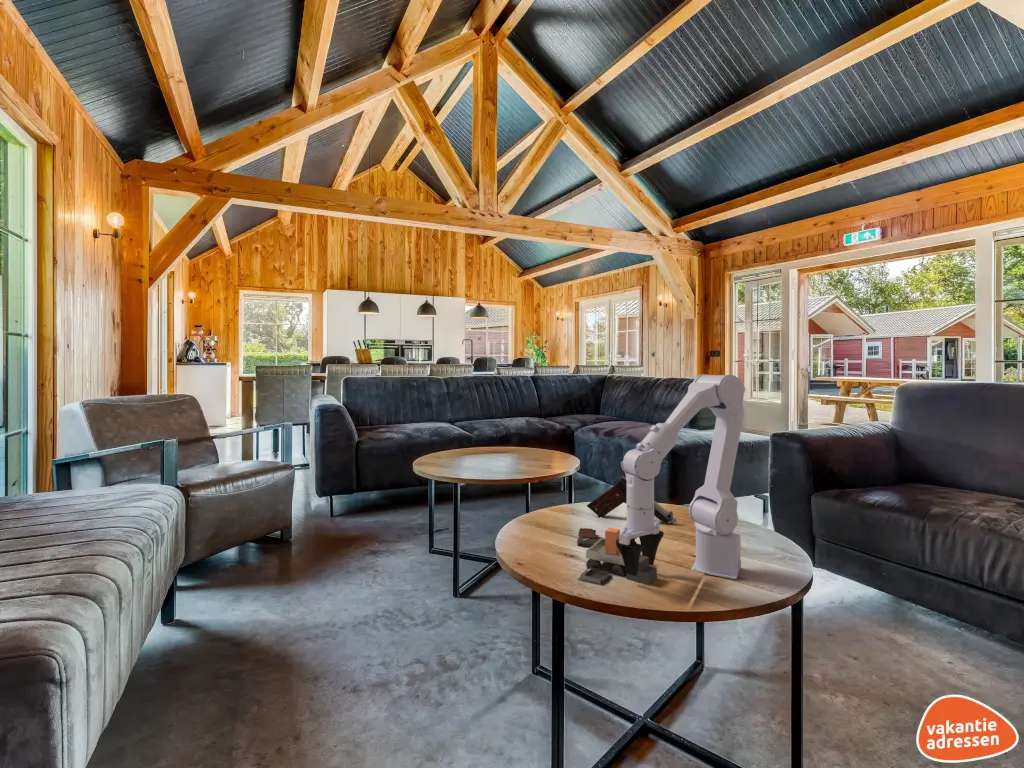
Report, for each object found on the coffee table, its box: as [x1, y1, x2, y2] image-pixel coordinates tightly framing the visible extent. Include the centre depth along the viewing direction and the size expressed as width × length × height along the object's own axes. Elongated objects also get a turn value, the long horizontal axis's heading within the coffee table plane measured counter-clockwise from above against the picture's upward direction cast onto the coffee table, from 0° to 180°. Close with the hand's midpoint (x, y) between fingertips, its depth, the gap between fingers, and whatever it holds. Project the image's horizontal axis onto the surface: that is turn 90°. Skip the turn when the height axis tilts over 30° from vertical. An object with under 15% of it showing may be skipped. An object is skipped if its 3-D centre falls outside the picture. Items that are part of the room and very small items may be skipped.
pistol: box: [576, 527, 604, 548], centre depth 135 cm, size 2×15×12 cm
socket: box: [576, 568, 614, 587], centre depth 111 cm, size 6×6×1 cm
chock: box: [626, 554, 658, 586], centre depth 110 cm, size 5×4×5 cm
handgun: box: [586, 474, 678, 525], centre depth 154 cm, size 3×23×15 cm
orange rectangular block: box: [604, 527, 621, 554], centre depth 117 cm, size 3×3×5 cm
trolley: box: [585, 537, 627, 577], centre depth 118 cm, size 9×10×5 cm
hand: (640, 568), depth 110 cm, fingers open, 7 cm apart
